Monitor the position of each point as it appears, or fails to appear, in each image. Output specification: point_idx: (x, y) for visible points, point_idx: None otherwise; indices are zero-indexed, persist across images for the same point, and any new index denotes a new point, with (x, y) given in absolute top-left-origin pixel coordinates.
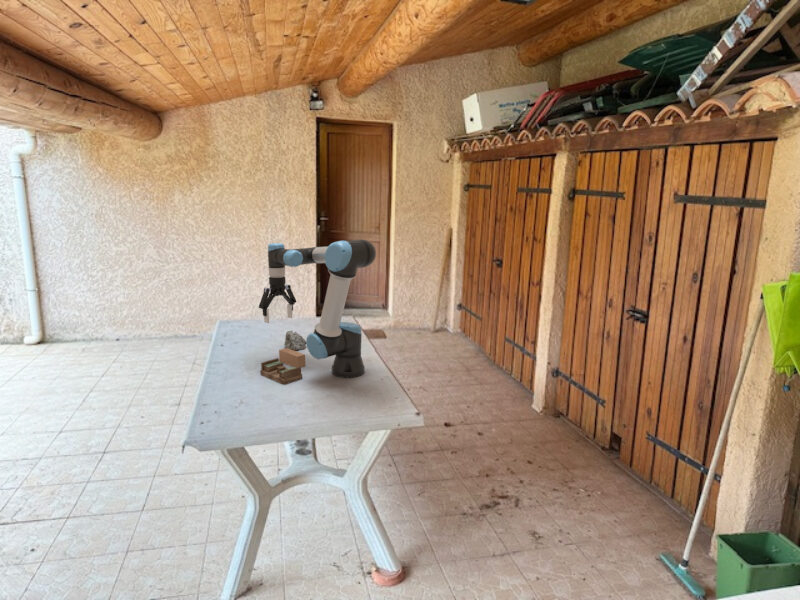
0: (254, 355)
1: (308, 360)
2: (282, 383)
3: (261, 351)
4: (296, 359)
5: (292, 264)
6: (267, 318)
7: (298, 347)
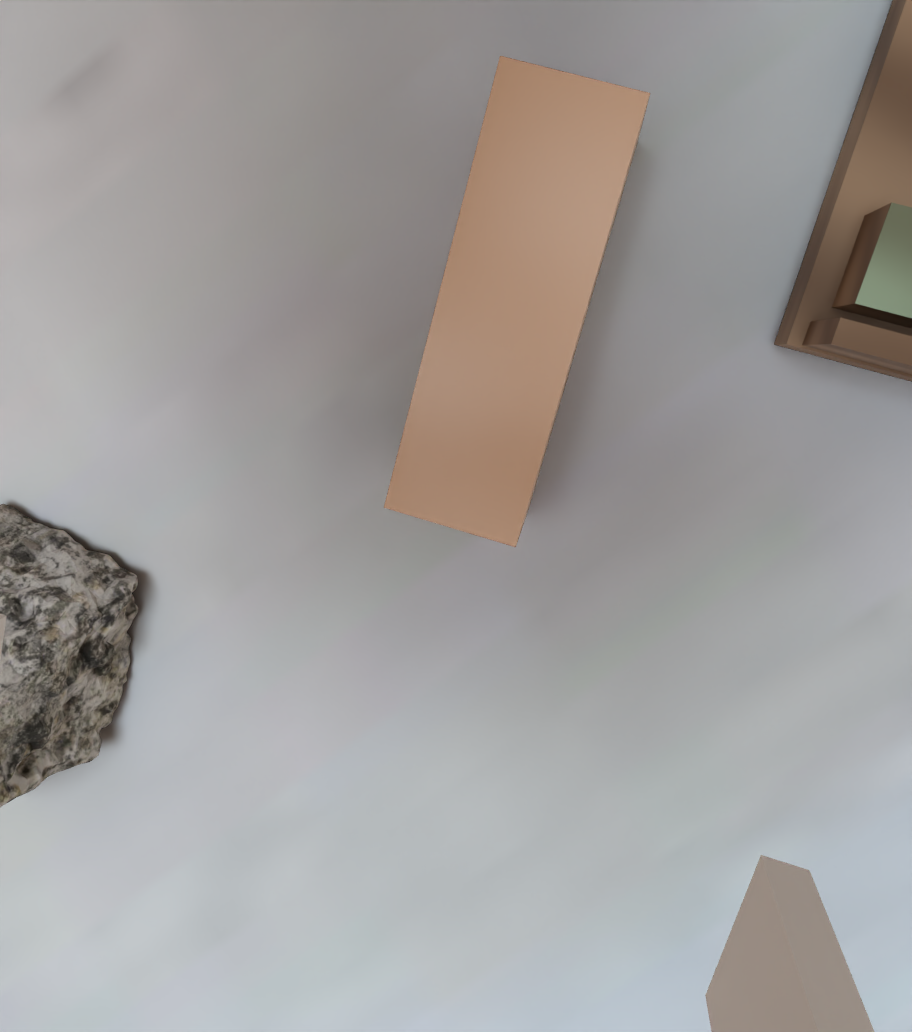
0: (498, 882)
1: (318, 211)
2: None
3: (347, 891)
4: (638, 135)
5: None
6: (847, 985)
7: (70, 555)
